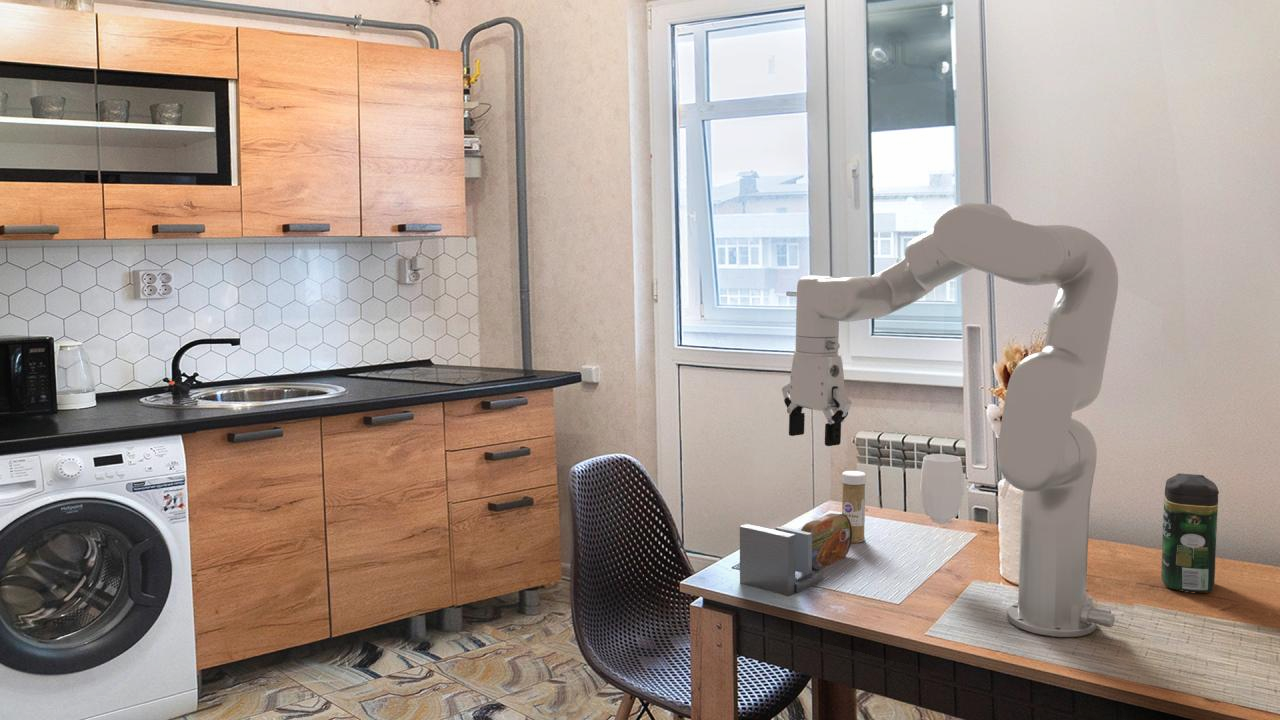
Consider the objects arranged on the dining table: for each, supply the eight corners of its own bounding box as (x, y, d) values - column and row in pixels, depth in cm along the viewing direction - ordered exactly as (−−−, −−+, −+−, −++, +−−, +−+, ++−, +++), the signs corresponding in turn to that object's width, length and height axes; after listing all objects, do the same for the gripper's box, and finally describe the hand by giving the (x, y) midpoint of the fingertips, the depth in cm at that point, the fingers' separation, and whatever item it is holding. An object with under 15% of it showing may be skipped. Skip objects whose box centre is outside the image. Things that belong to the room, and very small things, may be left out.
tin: (809, 574, 179) (809, 528, 178) (794, 571, 181) (794, 524, 180) (853, 554, 190) (854, 510, 189) (839, 551, 192) (839, 507, 191)
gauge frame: (822, 580, 175) (823, 524, 174) (789, 596, 168) (790, 537, 167) (772, 568, 182) (772, 513, 181) (738, 582, 175) (738, 525, 174)
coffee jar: (1158, 573, 176) (1163, 468, 174) (1211, 579, 173) (1216, 472, 171) (1161, 591, 168) (1166, 481, 165) (1216, 597, 164) (1222, 485, 162)
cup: (961, 582, 173) (963, 463, 171) (917, 578, 176) (919, 461, 173) (962, 569, 180) (964, 454, 178) (919, 566, 182) (921, 452, 180)
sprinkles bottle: (838, 541, 197) (839, 474, 196) (845, 535, 201) (845, 469, 200) (861, 544, 195) (862, 476, 194) (868, 538, 199) (868, 471, 198)
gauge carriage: (811, 572, 176) (812, 533, 175) (808, 574, 175) (808, 534, 174) (769, 562, 182) (769, 523, 181) (765, 563, 181) (765, 525, 180)
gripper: (866, 349, 175) (863, 446, 178) (801, 339, 190) (798, 429, 192) (834, 352, 172) (831, 451, 174) (769, 341, 186) (767, 433, 189)
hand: (814, 439), depth 183 cm, fingers open, 9 cm apart
